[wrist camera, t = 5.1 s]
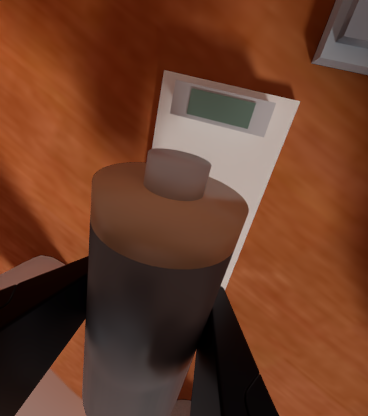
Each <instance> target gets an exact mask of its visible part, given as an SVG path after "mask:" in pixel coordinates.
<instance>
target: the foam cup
mask: <svg viewBox="0 0 368 416" xmlns="http://www.w3.org/2000/svg"><path fill="white" fill-rule="evenodd" d="M64 265H65V264H64V263H62V262H60V261H58V260H57V259H55V258H53V257H48V256H43V255H40V256H37V257H34V258H32V259H30V260H28V261H26V262H24V263H22V264H20V265H18V266H16V267H14V268H12V269H10V270H9V271H7V272H5V273H3V274H1V275H0V290H2V289H4V288H7V287H10V286H12V285H15V284H16V285H17V284H18V283H20V282H23V281H25V280H28V279H30V278H33V277H36V276H38V275H41V274H43V273H46V272H49V271H51V270H54V269H56V268H59V267H61V266H64Z"/></svg>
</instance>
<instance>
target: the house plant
mask: <svg viewBox="0 0 368 416" xmlns="http://www.w3.org/2000/svg"><path fill="white" fill-rule="evenodd" d="M190 409H191V401H190V400H178V401H176V404H175V406H174V408H173V411H172V413H171V414H170V416H190Z"/></svg>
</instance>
